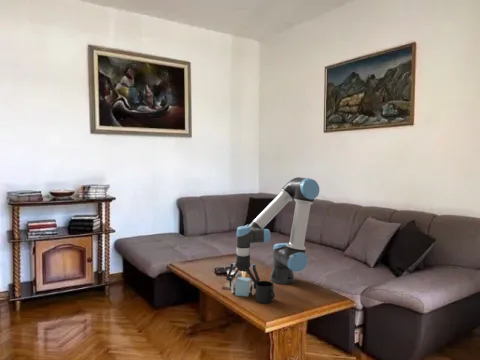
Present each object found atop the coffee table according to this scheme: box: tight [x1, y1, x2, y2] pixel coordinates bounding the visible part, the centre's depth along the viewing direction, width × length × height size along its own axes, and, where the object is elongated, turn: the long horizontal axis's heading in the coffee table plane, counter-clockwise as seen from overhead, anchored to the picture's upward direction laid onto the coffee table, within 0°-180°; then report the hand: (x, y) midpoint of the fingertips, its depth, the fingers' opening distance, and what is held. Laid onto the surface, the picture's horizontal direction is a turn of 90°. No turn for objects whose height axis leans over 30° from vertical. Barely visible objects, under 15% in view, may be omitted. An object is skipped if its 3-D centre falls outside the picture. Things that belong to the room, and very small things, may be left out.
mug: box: [255, 280, 276, 304], centre depth 197 cm, size 9×12×9 cm
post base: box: [221, 271, 253, 291], centre depth 221 cm, size 16×16×7 cm
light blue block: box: [234, 277, 251, 297], centre depth 208 cm, size 7×7×9 cm
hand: (242, 293), depth 208 cm, fingers open, 11 cm apart
